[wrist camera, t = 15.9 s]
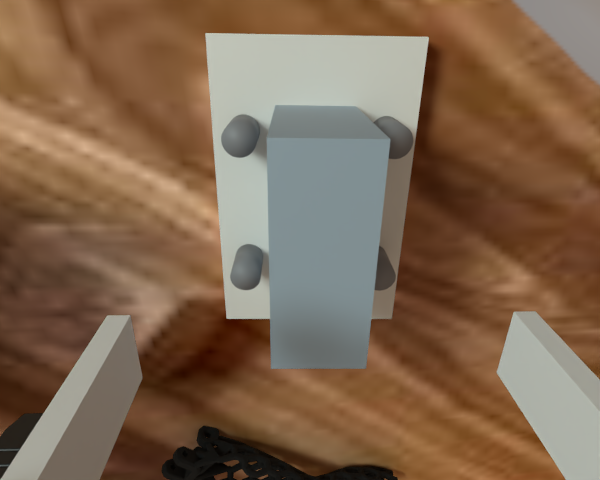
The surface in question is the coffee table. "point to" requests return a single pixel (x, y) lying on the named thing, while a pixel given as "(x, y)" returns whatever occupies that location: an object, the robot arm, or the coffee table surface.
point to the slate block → (323, 233)
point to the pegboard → (315, 92)
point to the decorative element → (209, 461)
